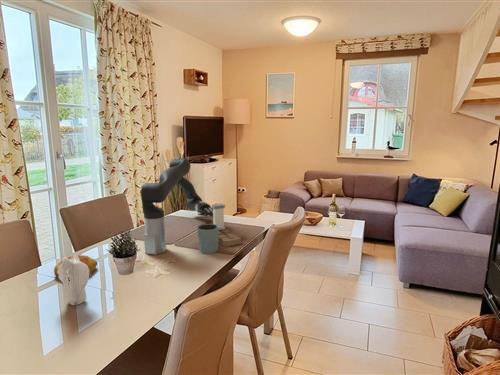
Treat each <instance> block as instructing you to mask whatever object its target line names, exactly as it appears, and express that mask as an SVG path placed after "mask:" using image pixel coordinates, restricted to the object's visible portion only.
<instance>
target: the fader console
mask: <svg viewBox="0 0 500 375" xmlns="http://www.w3.org/2000/svg"><path fill="white" fill-rule="evenodd" d="M241 239H242V238H241V237H239V236H238V235H237V234H235V233H234V232H232V231H231V230H229V229H228V228H226V227H225V229H223V230H218V244H220V245H222V246H223V248H225V247H226V248H227V247H231V245H232V246H236V244H237V245H242V240H241Z"/></svg>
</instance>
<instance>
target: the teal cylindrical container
mask: <svg viewBox="0 0 500 375" xmlns="http://www.w3.org/2000/svg"><path fill="white" fill-rule="evenodd" d="M197 235H198V236H197V237H198V244H199V252H200V253H202V254H207V255H208V254H210V255H211V254H215V253H216V252H218V251H219V249H218V246H219V242H218V225H216V224H213V223H203V224H200V225H198V226H197Z"/></svg>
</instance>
